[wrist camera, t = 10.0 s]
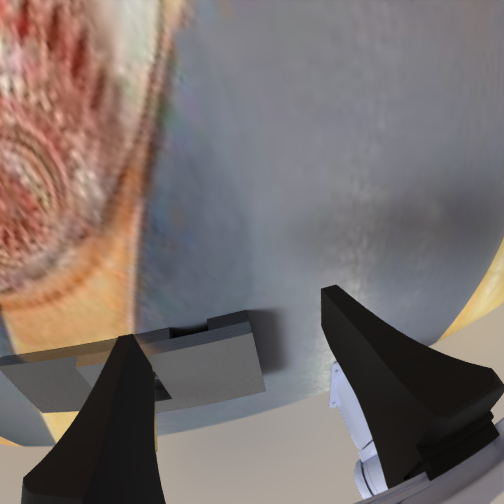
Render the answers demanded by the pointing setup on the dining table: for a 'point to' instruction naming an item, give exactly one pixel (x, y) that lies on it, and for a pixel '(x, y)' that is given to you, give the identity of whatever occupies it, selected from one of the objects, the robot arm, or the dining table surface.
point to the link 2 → (197, 365)
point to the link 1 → (62, 373)
